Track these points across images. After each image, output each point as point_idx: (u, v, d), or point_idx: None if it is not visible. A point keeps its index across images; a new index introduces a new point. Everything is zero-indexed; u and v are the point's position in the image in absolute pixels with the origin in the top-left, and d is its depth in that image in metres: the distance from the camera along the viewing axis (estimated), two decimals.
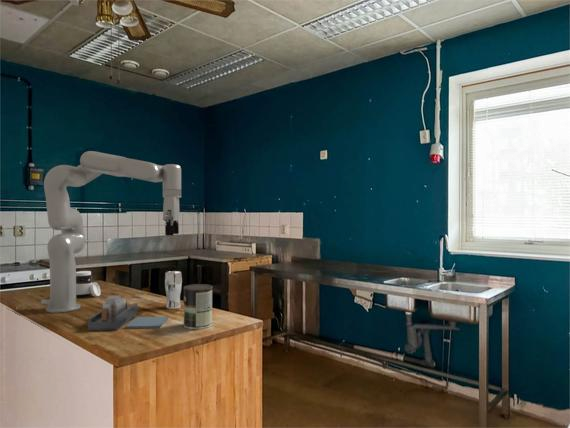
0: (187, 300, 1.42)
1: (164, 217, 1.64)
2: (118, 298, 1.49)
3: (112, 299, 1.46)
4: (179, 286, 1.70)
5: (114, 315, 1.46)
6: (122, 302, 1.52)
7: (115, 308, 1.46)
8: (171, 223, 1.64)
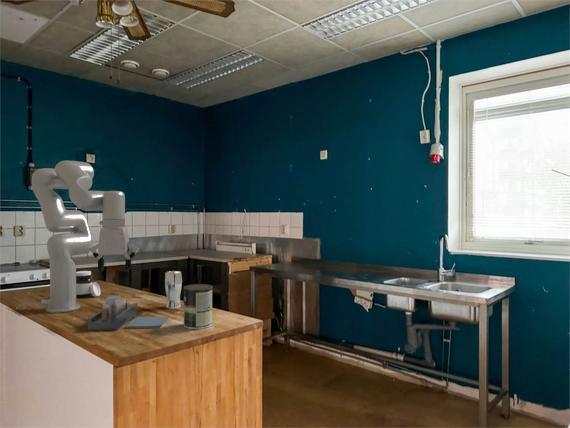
0: (187, 300, 1.42)
1: (126, 250, 1.48)
2: (118, 298, 1.49)
3: (112, 299, 1.46)
4: (179, 286, 1.70)
5: (114, 315, 1.46)
6: (122, 302, 1.52)
7: (115, 308, 1.46)
8: None
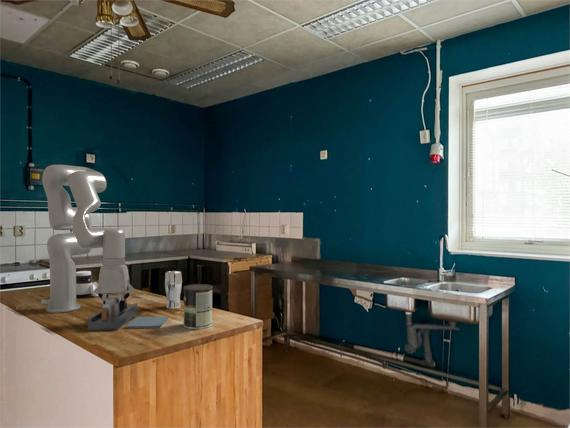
0: (187, 300, 1.42)
1: (126, 289, 1.48)
2: (118, 298, 1.49)
3: (112, 299, 1.46)
4: (179, 286, 1.70)
5: (114, 315, 1.46)
6: None
7: (115, 308, 1.46)
8: None
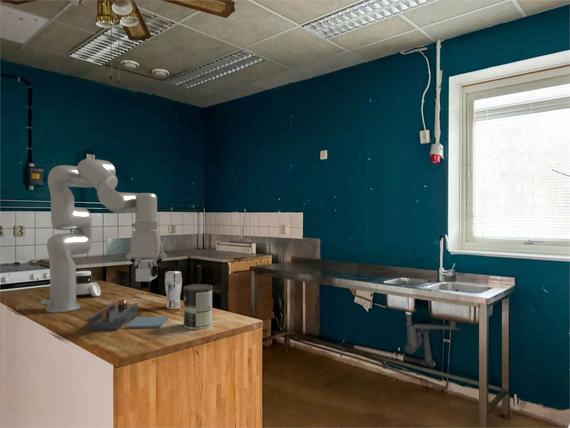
0: (187, 300, 1.42)
1: (158, 253, 1.46)
2: (150, 263, 1.47)
3: (145, 263, 1.44)
4: (179, 286, 1.70)
5: (147, 280, 1.43)
6: None
7: (148, 272, 1.43)
8: None
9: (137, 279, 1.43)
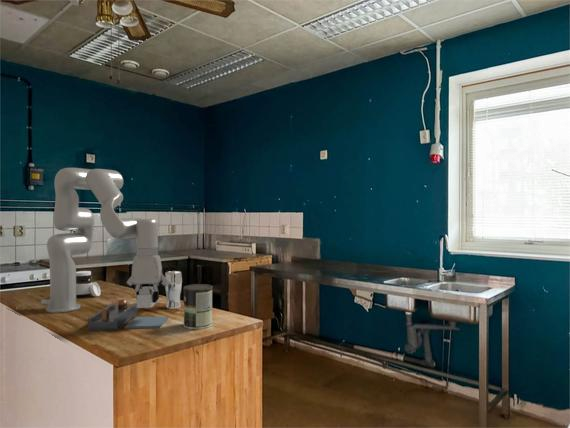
0: (187, 300, 1.42)
1: (159, 279, 1.46)
2: (151, 289, 1.47)
3: (146, 290, 1.44)
4: (179, 286, 1.70)
5: (148, 306, 1.43)
6: None
7: (149, 298, 1.43)
8: None
9: (138, 305, 1.43)
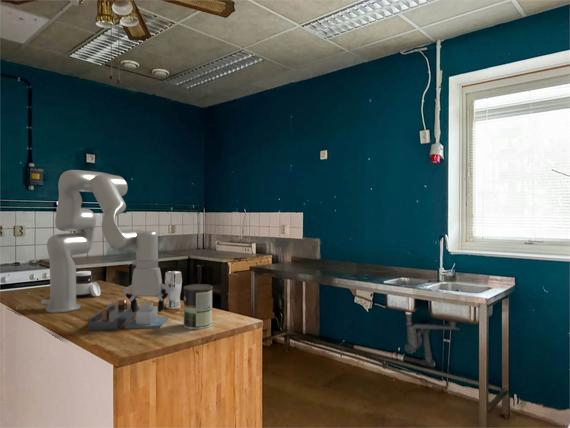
0: (187, 300, 1.42)
1: (159, 292, 1.46)
2: (151, 306, 1.47)
3: (146, 307, 1.44)
4: (179, 286, 1.70)
5: (148, 323, 1.44)
6: (155, 309, 1.49)
7: (149, 316, 1.44)
8: None
9: (138, 322, 1.43)
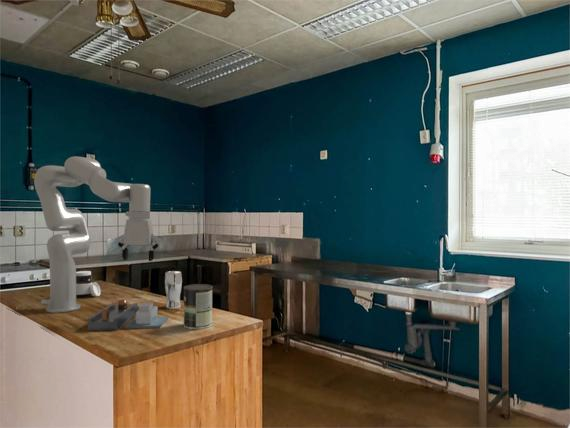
0: (187, 300, 1.42)
1: (150, 242, 1.54)
2: (151, 306, 1.47)
3: (146, 307, 1.44)
4: (179, 286, 1.70)
5: (148, 323, 1.44)
6: (155, 309, 1.49)
7: (149, 316, 1.44)
8: None
9: (138, 322, 1.43)
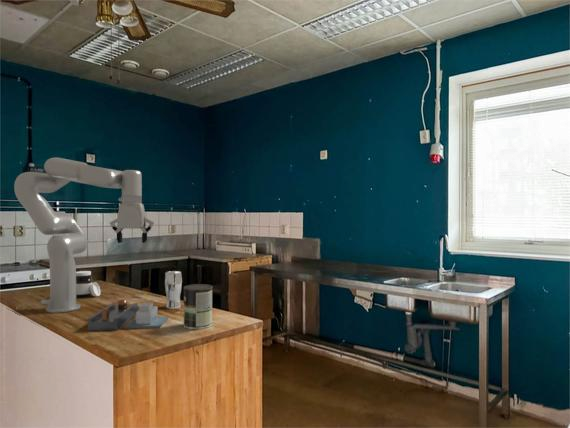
0: (187, 300, 1.42)
1: (143, 224, 1.62)
2: (151, 306, 1.47)
3: (146, 307, 1.44)
4: (179, 286, 1.70)
5: (148, 323, 1.44)
6: (155, 309, 1.49)
7: (149, 316, 1.44)
8: None
9: (138, 322, 1.43)
